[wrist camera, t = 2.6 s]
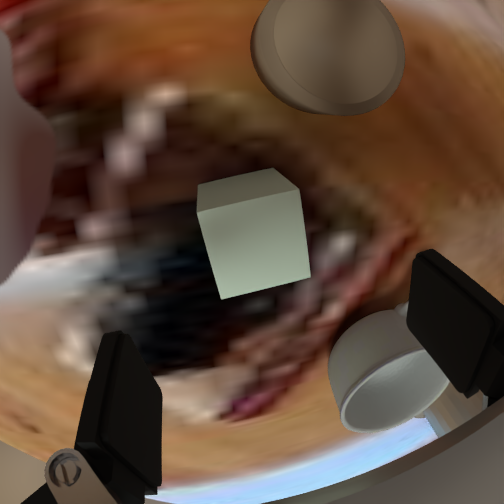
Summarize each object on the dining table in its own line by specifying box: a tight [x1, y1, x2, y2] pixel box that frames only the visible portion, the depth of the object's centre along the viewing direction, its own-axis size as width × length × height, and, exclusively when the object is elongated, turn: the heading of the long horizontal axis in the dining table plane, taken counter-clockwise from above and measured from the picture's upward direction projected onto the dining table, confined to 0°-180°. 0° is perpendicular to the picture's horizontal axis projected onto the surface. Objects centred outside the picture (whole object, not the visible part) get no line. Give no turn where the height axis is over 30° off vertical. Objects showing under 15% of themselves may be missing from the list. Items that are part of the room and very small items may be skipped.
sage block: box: [197, 168, 311, 299], centre depth 19 cm, size 5×5×6 cm
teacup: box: [328, 301, 450, 433], centre depth 24 cm, size 14×11×8 cm
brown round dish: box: [250, 0, 405, 116], centre depth 15 cm, size 9×9×4 cm
